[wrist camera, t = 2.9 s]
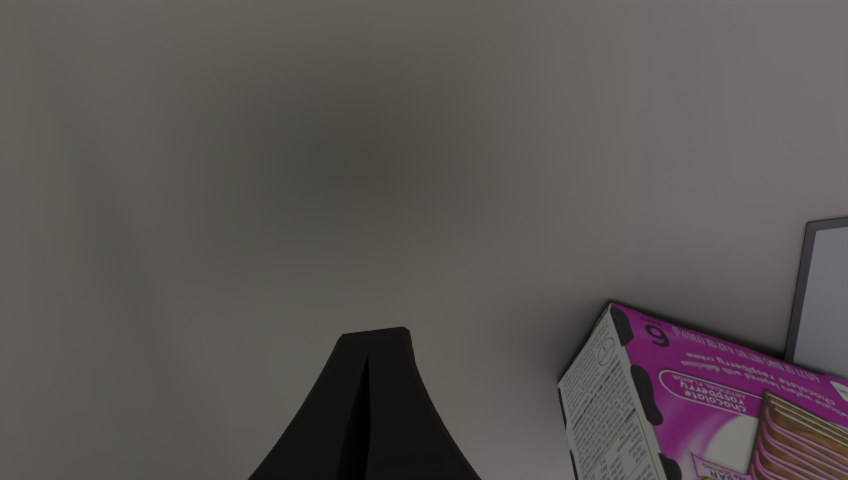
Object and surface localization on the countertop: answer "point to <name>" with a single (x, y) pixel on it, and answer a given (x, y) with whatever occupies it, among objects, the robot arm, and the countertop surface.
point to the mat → (822, 301)
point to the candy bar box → (696, 408)
